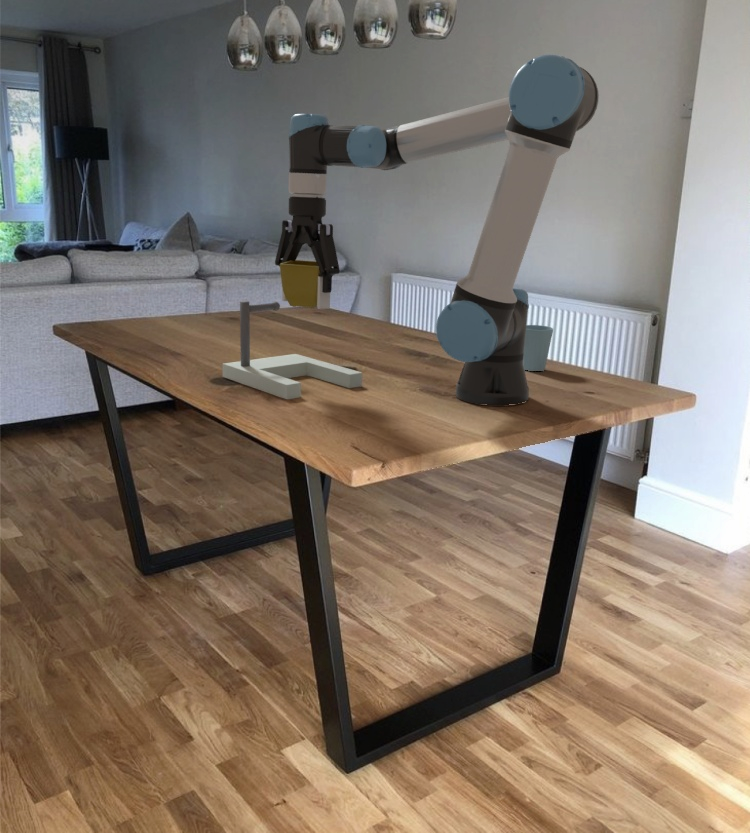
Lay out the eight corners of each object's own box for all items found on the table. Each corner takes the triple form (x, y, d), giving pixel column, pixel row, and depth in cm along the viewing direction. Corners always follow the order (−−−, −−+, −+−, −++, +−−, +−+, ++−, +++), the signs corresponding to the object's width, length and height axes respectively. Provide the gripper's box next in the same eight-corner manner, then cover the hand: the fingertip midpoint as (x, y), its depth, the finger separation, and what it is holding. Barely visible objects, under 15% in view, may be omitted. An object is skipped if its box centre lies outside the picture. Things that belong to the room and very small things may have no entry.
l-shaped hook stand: (361, 386, 174) (364, 307, 169) (286, 399, 161) (287, 315, 156) (295, 366, 191) (296, 294, 186) (222, 376, 178) (221, 300, 173)
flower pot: (319, 310, 163) (320, 265, 160) (278, 307, 164) (279, 263, 162) (330, 304, 171) (331, 262, 169) (291, 302, 173) (292, 259, 170)
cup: (537, 374, 191) (541, 331, 188) (511, 369, 196) (514, 326, 193) (555, 370, 196) (559, 328, 193) (529, 365, 201) (532, 323, 198)
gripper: (360, 198, 156) (356, 311, 162) (287, 194, 172) (286, 296, 178) (330, 198, 151) (327, 313, 157) (258, 193, 167) (258, 298, 173)
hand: (305, 304), depth 168 cm, fingers closed on flower pot, 11 cm apart
